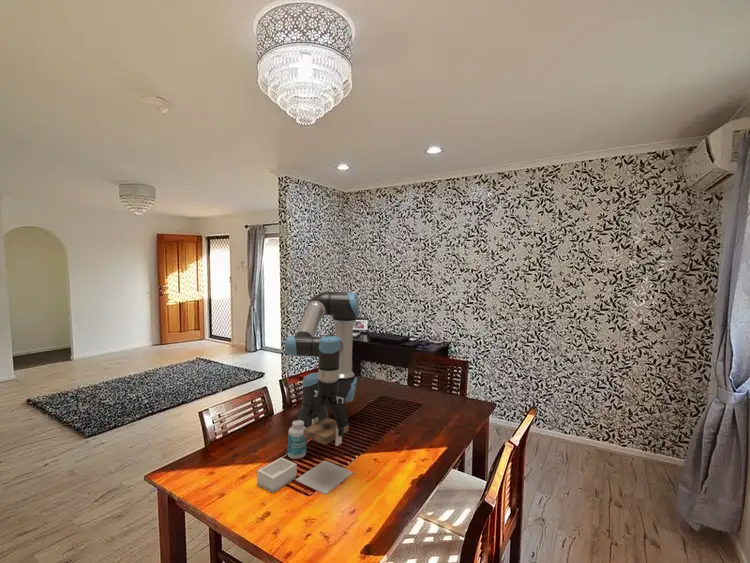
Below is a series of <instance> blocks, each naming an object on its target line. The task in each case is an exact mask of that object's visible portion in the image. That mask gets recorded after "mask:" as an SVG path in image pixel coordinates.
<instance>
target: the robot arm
mask: <svg viewBox="0 0 750 563" xmlns="http://www.w3.org/2000/svg"><path fill="white" fill-rule="evenodd" d="M324 316H332V321H334V323H335V332H334V333H335V334H334V335H330V336H320V337H319V336H316V333H317V330H318V327H319V325H320V323H321V319H322V318H323V317H324ZM358 317H360V302H359V296H358V294H357V293H356V292H349V291H347V292H344V291H324V292H320V293H318V294H316V295H314V296H313V297H312V298H311V299H309V301H308V302H307V303H306V306H305V313H304V315H303V318H302V320H301V322H300V324H299V326H298V329H297V331H295V332H296V333H295V334H294V335H288V336H287V337H286V339H285V342H284V352H285V354H286V355H287V356H292V357H293V356H295V357H317V358H318V372H312V373H309V374H306V375H305V376H304V377H303V379H302V400H301V401H302V403H301V407H300V410H299V414H298V416H297V417H298V418H297V420H301V421H304V426H305V427H309V426H311V425H313V424H315V423H317V422H319V421H321V420H323V419H325V418H330V415H329V412H328V408H329V410H330V411H331V412H332V415H333V417H334V420H336V423H337V425H338V426H337V427H336V439H335V440H334V441H335V443H334V444H335V445H334V446H336V447H338V446H339V445H342V443H343V441H342V440H343V436H344V427H346V426H347V425H349V426H350V423H349V417H348V414H347V413H348V412H347V408H346V405H345V404H346V403H345V402H352V401H354V398H355V394H356V388H357V381H358V378H357V377H356V376H355V373H354V372H353V371H352V370H353V368H352V366H353V365H352V362H353V341H354V340H353V338H354V337H353V336H354V335H353V334H354V333H353V332H354V323H355V322H356V321H357V318H358ZM327 407H328V408H327Z"/></svg>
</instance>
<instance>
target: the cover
mask: <svg viewBox="0 0 750 563" xmlns="http://www.w3.org/2000/svg"><path fill="white" fill-rule="evenodd" d="M337 426H338V425H337V423H336V420H335V419H333V418H330V417H329V418H325V419H323V420H321V421H319V422H317V423H315V424H313V425H311V426H306V428H305V429H304V431H303V436H304V437H307V439H310V440H313V441H315V442H317V443H321V444H323V445H328V444H330V443H331V442H333V441H335V440H336V427H337ZM349 428H350V424H349V425H347V426H346V427H344V434H346V433H348V432H349V431H350V430H349ZM344 434H343V435H344Z"/></svg>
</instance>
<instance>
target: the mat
mask: <svg viewBox="0 0 750 563" xmlns="http://www.w3.org/2000/svg"><path fill="white" fill-rule="evenodd" d="M353 474H354V471H351V470H350V469H346V468H344V467H343V466H339V465H337V464H335V463H332V462H330V461H327V460H322V461H321V462H320V463H318V464H317V465H315V466H314V467H312V468H311V469H310V470H307V471H306V472H304V474H302V475H300V476H299V477H296V478H295V481H296V482H298V483H300V484H302V485H304V486H306V487H308V488H309V489H310V488H311V489H312V490H315V491H317V492H319V493H321V494H323V495H328V494H329V493H330V492H331V491H332V490H334V489H335V488H336V487H338V486H339V485H340V484H341V483H342V482H344V481H346V479H348V478H349V477H350V476H352V475H353Z"/></svg>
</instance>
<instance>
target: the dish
mask: <svg viewBox="0 0 750 563" xmlns="http://www.w3.org/2000/svg"><path fill="white" fill-rule="evenodd" d="M297 468H298V464H297V463H295V462H293V461H290V460H289V459H287V458H285V457H284V458H283V457H282V456H281V457H279V458H277V459H276V460H273V461H272V462H270V463H269V464H267V465H265V466H263V467H262V468H260V469H257V477H256V478H257V479H256V480H257V482H256V485H257V486H258V487H260V488H262V489H264V490H266V491H269V493H272V494H274V493H275V492H277V491H279V489H282V488H283V487H285V486H286V485H288V484H289V483H290V482H292V481H293V480H296V479H297V473H298V471H297V470H298V469H297Z"/></svg>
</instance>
